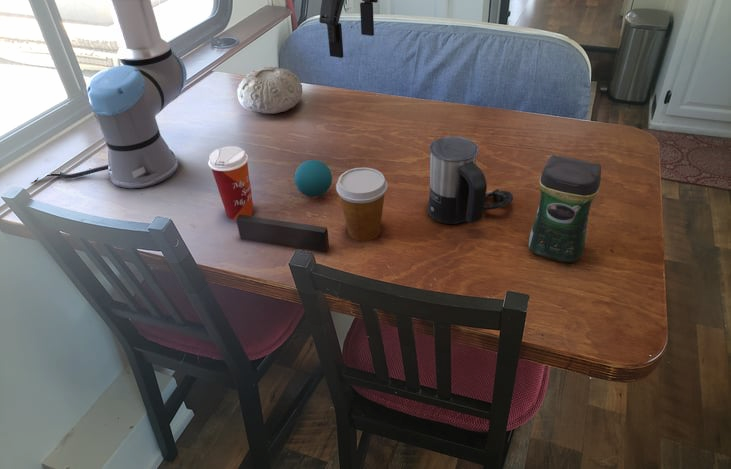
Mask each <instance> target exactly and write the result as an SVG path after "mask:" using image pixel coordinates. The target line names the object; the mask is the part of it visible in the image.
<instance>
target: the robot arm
mask: <svg viewBox="0 0 731 469" xmlns="http://www.w3.org/2000/svg"><path fill="white" fill-rule="evenodd" d="M361 1H362V2H360V3H359V7H360V8H359V14H360V33H361V35H362V36H369V37H374V35H375V27H374V26H375V24H374V23H375V22H374V4H376V3H378V2H379V0H361ZM107 3H108V6H109V10H110V13H111V16H112V18H113V22H114V25H115V29H116V31H117V34H118V37H119V40H120V43H121V46H120V48H119V49H118V51H117V56H118V60H119V63H120V65H115V66H114V65H113V66H111V67H108V68H107V69H103V70H100V71H99V72H97V73H95V74H94V75H93V76H92V77H90V79H89V81H88V82H87V84H86V93H87V97H88V100H89V105H90V108H91V109H92V112H93V114H94V116H95V119H96V121H97V124H98V126H99V129H100V131H101V135H102V136H103V139H104V141H105V144H106V147H107V160H108V164H105V165H102V166H97V167H93V168H90V169H86V170H83V171H79V172H75V173H66V172H63V171H59V172H60V174H51V175H47V176H46V177H62V178H64V179H75V178H81V177H84V176H87V175H91V174H95V173H99V172H102V171H108V175H109V178H110V180H111V182H112V184H114V185H115V186H117V187H120V188H124V189H142V188H147V187H152V186H154V185H157V184H159V183H162V182H164V181H166V180H167V179H169V178H170V177H172V175H174V174H175V172H176V171H177V170H178V166H179V163H178V160H177V157H176V154H175V153H174V151H173V150H172V149H170V147H169V145H168V144H167V142H166V141H165V139H164V138H163V137H162V135H161V132H160V129H159V125H158V122H157V119H156V116H157V115H158V114H160V112H162V111H163V110H164V109H165V108H166V107H167V106H168V105H169V104H171V102H174V101H175V100H176V99H177V98H178V97H179V96H180V94H181V93H182V91H183V90H184V88H185V86H186V84H187V78H188V76H187V75H188V74H187V69H186V66H185V63H184V61H183V59H182V58H181V57H180V56H178V55H177V53H176V52H175V51H174V50H172V47H171V44H170V43H169V42H168V41H166V40H165V39H163V38H162V37H161V33H160V30H159V27H158V22H157V18H156V15H155V11H154V8H153V5H152V0H107ZM344 4H345V0H321V4H320V13H319V23H320V24H325V25H326V28H327V40H328V48H329V56H330V57H333V58H340V59H342V58H344V56H345V55H344V45H343V44H344V43H343V29H342V22H340V18H341V15H342V11H343V7H344Z"/></svg>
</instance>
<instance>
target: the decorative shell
mask: <svg viewBox="0 0 731 469" xmlns="http://www.w3.org/2000/svg"><path fill="white" fill-rule="evenodd" d="M302 95H303V84H302V83H301V80H300V79H299V77H298V76H297V75H296V73H294V72H292V71H291V70H290V69H285V68H282V67H277V66H275V67H273V66H267V67H266V66H265V67H264V66H263V67H262V68H259V69H256V70H252V71H251V72H248V74H246V75H245V76H244V77H243V78H242V80H241V82H240V83H238V87H237V98H238V99H237V100H238V101H239V104H240V105H241V106H242V107H243V109H245V110H247V111H249V112H253V113H262V114H275V115H276V114H281V113H282V112H283V113H284V112H287V111H288V110H290V109H293V108H294V107H295V106H296V105H297V104H298V103H299V102H300V101H301V98H302Z"/></svg>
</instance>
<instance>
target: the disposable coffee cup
mask: <svg viewBox="0 0 731 469" xmlns="http://www.w3.org/2000/svg"><path fill="white" fill-rule="evenodd" d="M387 189H388V182H387V180H386V178H385V176H384V174H383V173H382V172H381V171H379V170H377V169H375V168H371V167H354V168H351V169H348V170H346V171H344V172H343V173H341V175H340V176H338V180H337V182H336V184H335V190H336V192H337V194H338V196H339V198H340V203H341V207H342V211H343V216H344V220H345V224H346V229H347V233H348V235H349V236H350V238H352V239H354V240H356V241H361V242H363V241H364V242H367V241H371V240H374V239H376V238H377V237H378V236H379V235H380V233H381V226H382V225H381V224H382V218H383V208H384V203H385V202H384V201H385V194H386V192H387Z"/></svg>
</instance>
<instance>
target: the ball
mask: <svg viewBox="0 0 731 469" xmlns="http://www.w3.org/2000/svg"><path fill="white" fill-rule="evenodd" d="M293 178H294V185H295V187H296V189H297V190H298V192H300V193H301V194H302V195H303V196H306V197H309V198H319V197H322V196H324V195H325V194H326V193H328V191H329V190H330V189H331V186H332V183H333V173H332V171H331V168H329V166H328V165H327V164H326V163H325V162H323V161H321V160H320V159H319V160H318V159H308V160H305V161H303V162H302V163H301V164H299V165H298V167H297V168H296V170H295V173H294V177H293Z"/></svg>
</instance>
